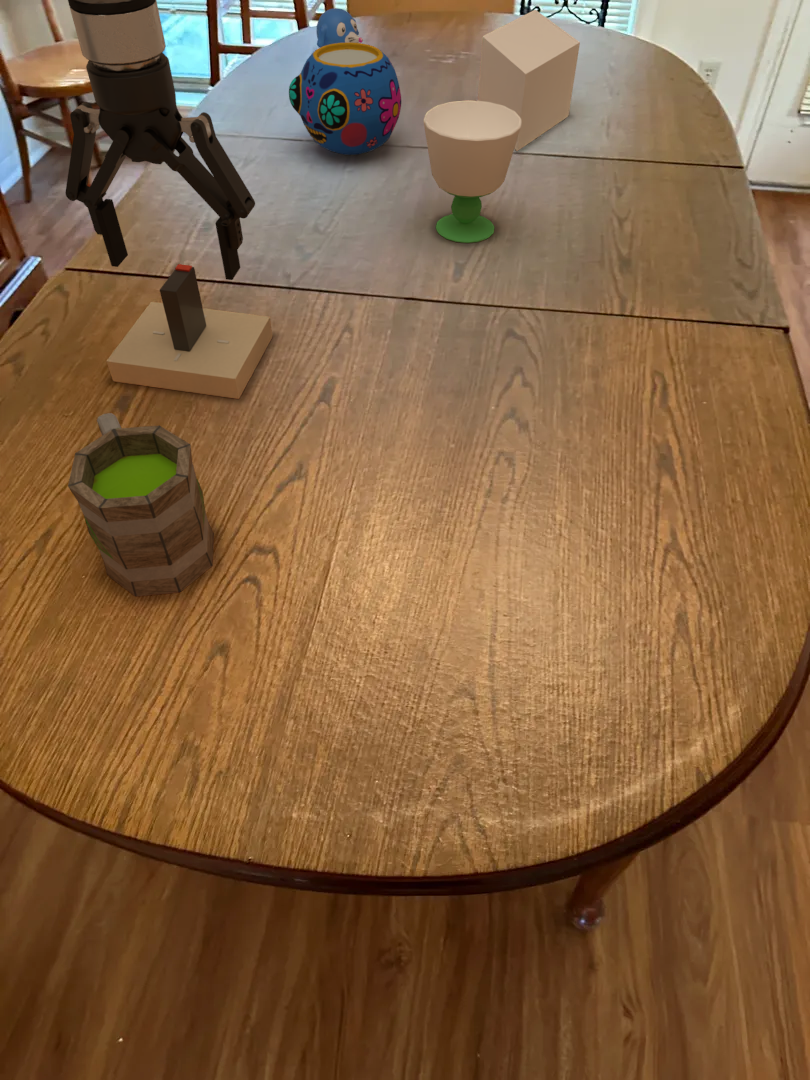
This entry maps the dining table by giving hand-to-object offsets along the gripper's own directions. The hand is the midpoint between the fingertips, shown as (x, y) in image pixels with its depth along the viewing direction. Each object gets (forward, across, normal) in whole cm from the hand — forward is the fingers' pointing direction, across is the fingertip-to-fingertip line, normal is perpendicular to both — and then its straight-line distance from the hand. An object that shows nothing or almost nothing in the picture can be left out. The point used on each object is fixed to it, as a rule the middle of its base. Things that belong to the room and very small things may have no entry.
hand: (176, 267), depth 89 cm
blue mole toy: (+13, +9, -109) cm, 110 cm away
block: (+13, -32, -87) cm, 93 cm away
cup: (+13, -28, -40) cm, 50 cm away
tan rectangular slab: (+12, 0, 0) cm, 12 cm away
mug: (+13, -7, +29) cm, 32 cm away
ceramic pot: (+13, -4, -64) cm, 65 cm away
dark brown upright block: (+9, 0, 0) cm, 9 cm away
